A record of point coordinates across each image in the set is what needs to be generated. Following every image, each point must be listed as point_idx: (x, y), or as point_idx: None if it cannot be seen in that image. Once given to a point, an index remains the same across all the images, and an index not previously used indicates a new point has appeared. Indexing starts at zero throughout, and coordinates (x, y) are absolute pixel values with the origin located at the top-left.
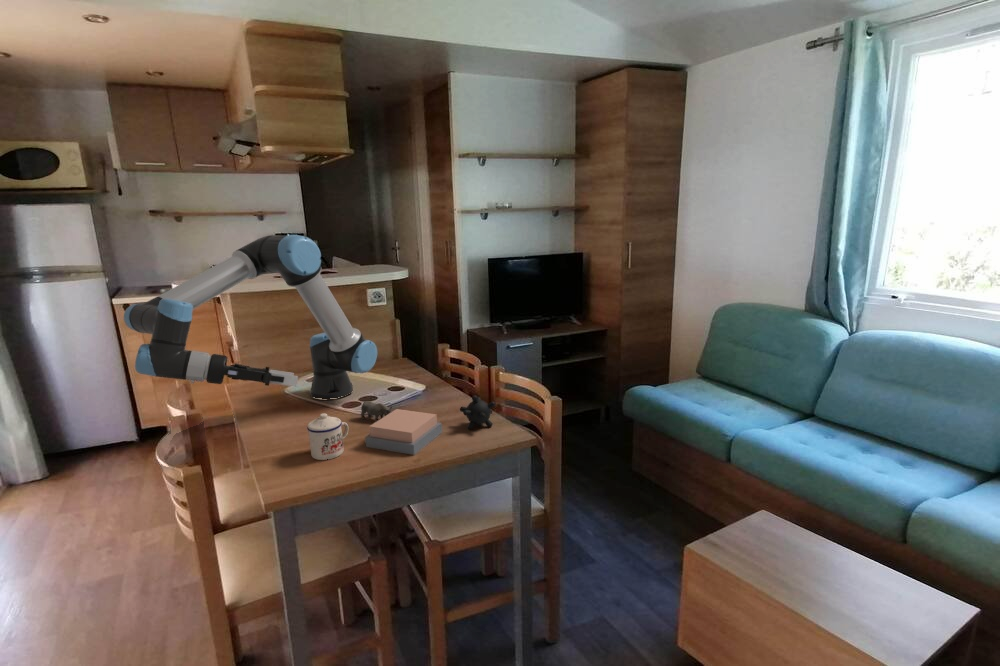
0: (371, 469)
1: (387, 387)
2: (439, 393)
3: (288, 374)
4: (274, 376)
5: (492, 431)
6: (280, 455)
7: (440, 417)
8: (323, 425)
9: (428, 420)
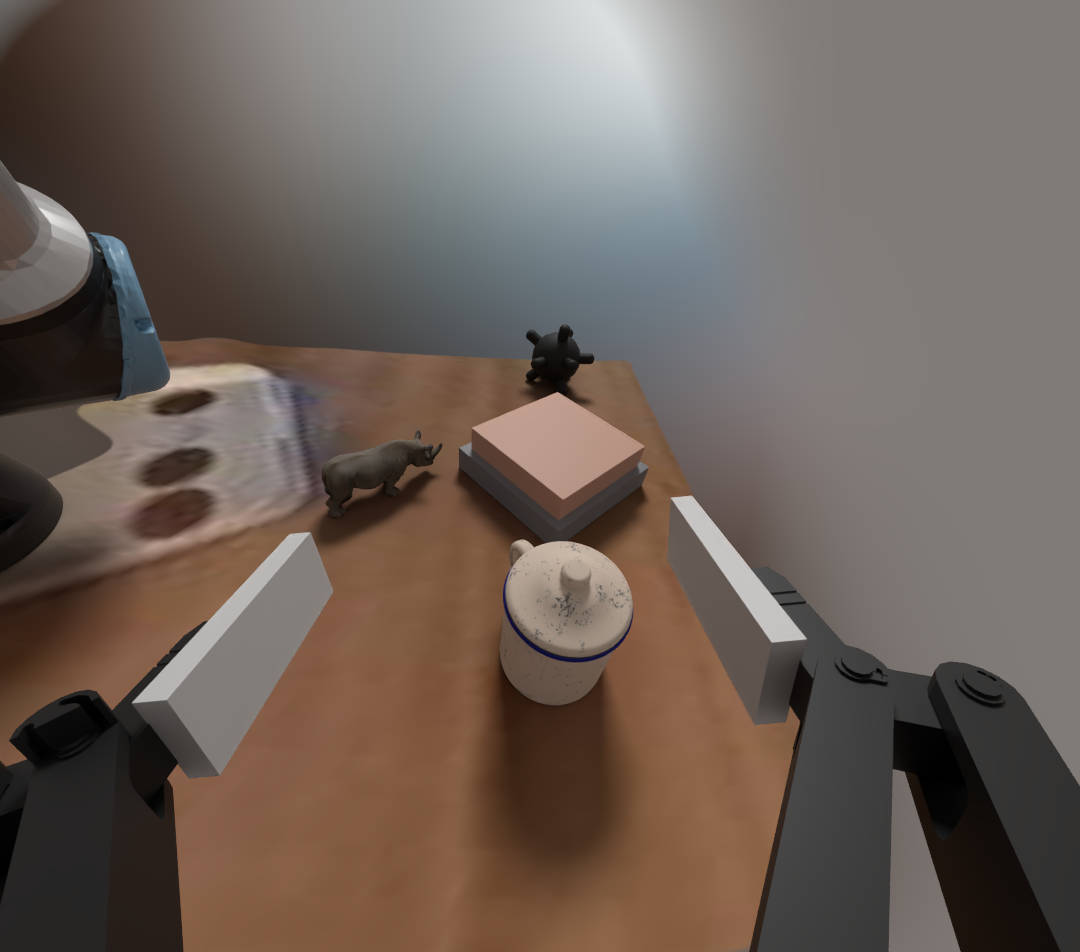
0: None
1: (143, 412)
2: (330, 365)
3: (298, 570)
4: (827, 633)
5: (585, 380)
6: (477, 847)
7: (471, 403)
8: (616, 595)
9: (584, 409)
